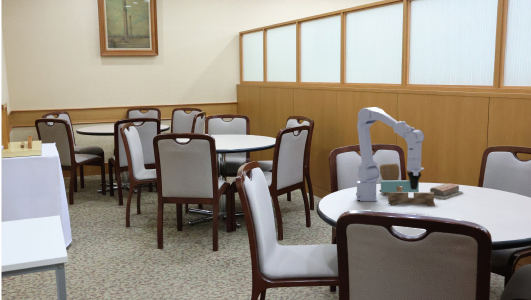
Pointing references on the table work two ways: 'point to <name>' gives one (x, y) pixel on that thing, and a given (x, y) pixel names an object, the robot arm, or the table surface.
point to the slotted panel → (392, 185)
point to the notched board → (411, 198)
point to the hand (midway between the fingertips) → (413, 188)
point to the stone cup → (390, 174)
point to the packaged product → (445, 191)
